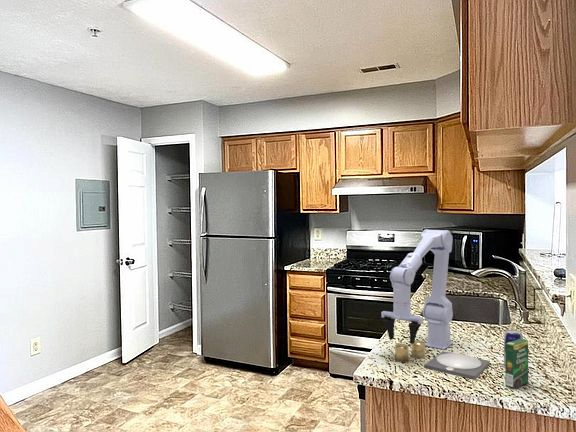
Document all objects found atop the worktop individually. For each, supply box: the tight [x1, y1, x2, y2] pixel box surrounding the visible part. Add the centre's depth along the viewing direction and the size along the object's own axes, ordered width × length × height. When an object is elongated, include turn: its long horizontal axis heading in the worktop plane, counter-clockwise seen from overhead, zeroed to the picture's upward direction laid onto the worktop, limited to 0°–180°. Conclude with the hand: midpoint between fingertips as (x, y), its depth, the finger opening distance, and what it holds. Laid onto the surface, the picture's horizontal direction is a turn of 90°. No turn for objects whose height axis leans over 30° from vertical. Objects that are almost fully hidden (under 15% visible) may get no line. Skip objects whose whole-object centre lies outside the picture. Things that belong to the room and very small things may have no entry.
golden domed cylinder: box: [394, 343, 410, 363], centre depth 155 cm, size 4×4×5 cm
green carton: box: [504, 338, 529, 390], centre depth 133 cm, size 8×3×13 cm, turn 122°
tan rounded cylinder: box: [411, 339, 426, 359], centre depth 158 cm, size 4×4×5 cm
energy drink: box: [503, 329, 524, 369], centre depth 146 cm, size 5×5×12 cm
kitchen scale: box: [423, 350, 491, 380], centre depth 149 cm, size 17×16×2 cm
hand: (401, 341), depth 154 cm, fingers open, 7 cm apart
